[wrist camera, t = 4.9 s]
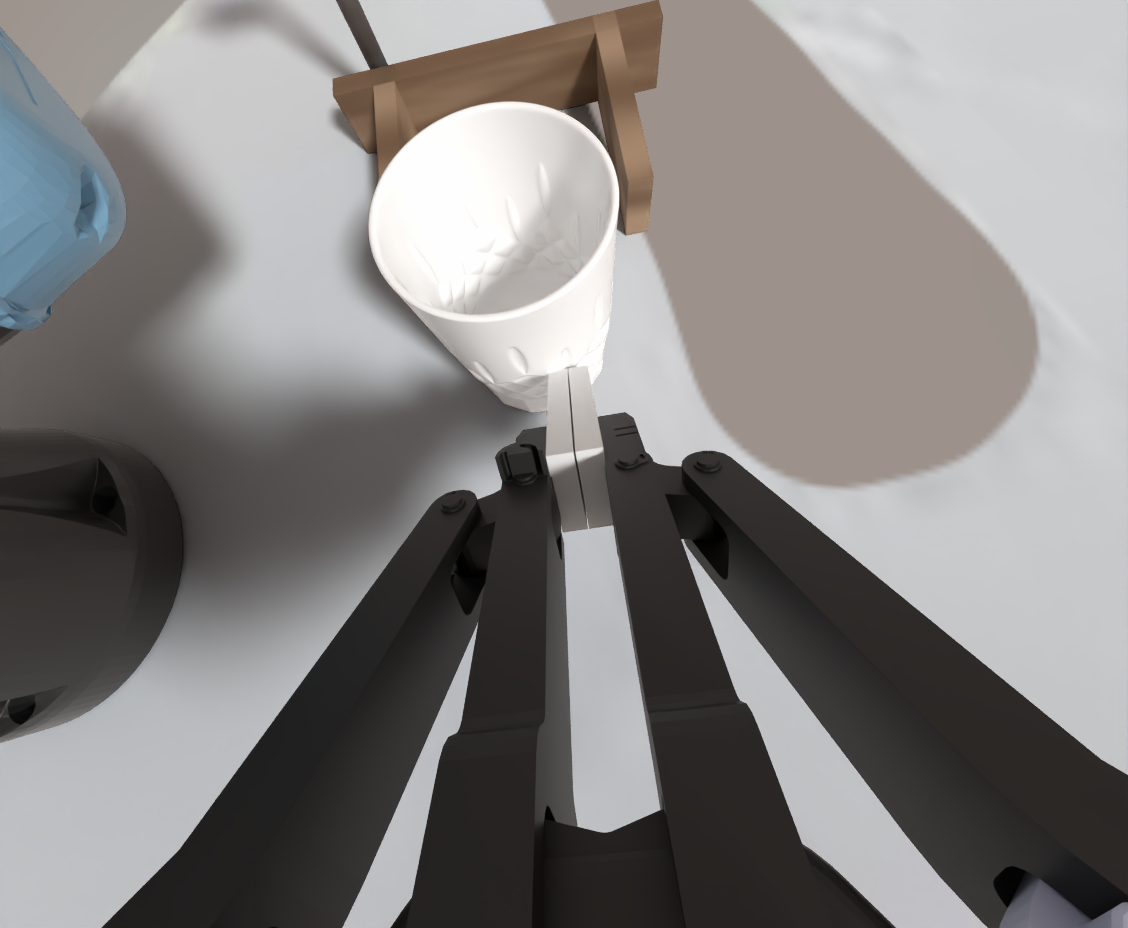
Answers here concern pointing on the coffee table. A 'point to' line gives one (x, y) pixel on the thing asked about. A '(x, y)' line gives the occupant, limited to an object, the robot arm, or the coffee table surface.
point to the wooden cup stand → (517, 86)
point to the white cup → (503, 242)
